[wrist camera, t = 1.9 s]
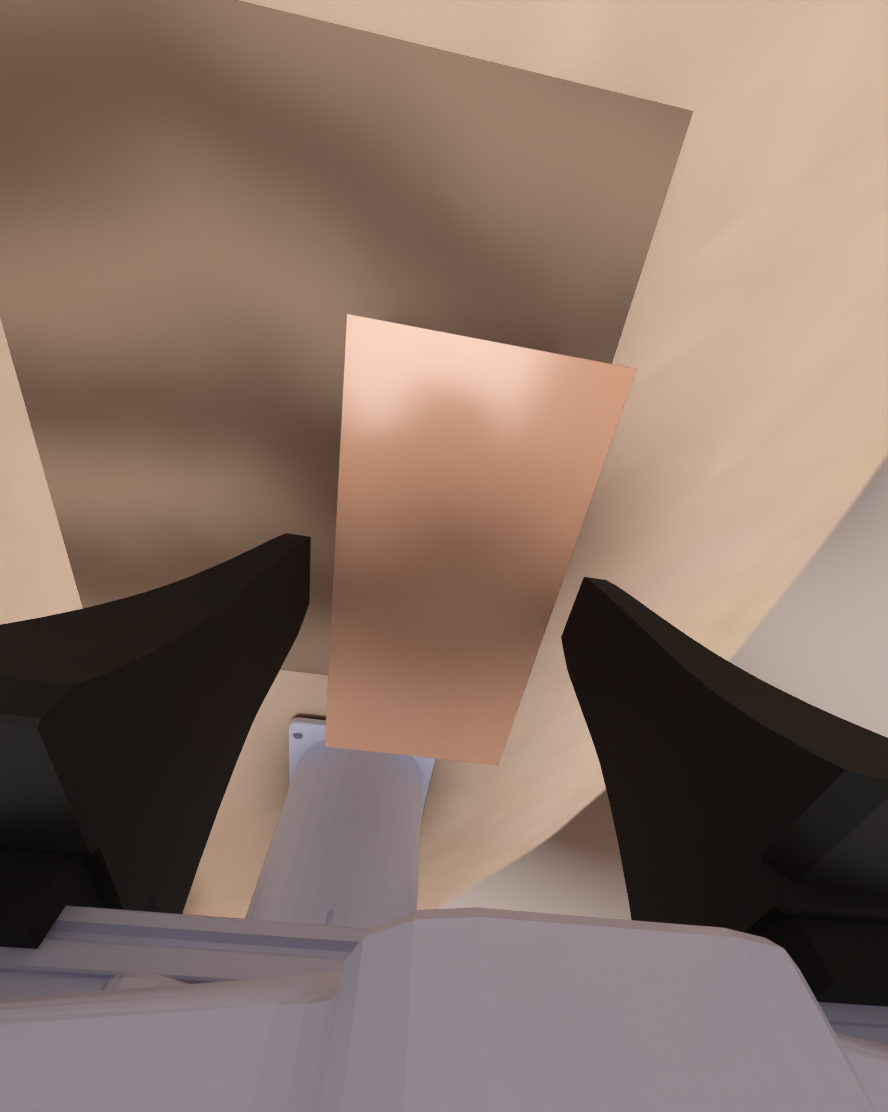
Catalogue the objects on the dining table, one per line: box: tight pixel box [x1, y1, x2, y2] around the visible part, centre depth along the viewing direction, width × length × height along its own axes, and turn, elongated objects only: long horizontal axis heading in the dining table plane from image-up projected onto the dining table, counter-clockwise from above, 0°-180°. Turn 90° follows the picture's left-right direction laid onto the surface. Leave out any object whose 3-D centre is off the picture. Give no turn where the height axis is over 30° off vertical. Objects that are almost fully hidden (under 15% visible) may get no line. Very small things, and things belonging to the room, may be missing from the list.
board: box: [0, 0, 693, 675], centre depth 14 cm, size 21×19×4 cm
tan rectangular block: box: [325, 314, 637, 765], centre depth 13 cm, size 12×6×6 cm, turn 170°
